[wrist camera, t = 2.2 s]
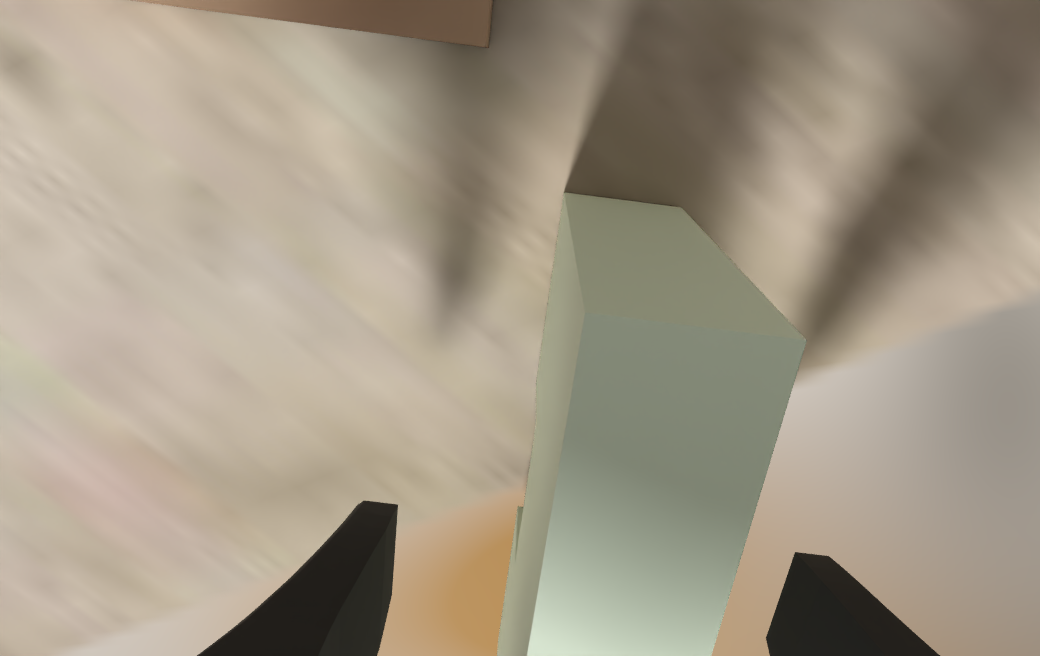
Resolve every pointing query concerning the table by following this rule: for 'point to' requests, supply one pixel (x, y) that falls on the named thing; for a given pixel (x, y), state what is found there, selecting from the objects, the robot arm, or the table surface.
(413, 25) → the slotted base
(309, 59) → the table surface
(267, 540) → the table surface
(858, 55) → the table surface
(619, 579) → the sage plate
